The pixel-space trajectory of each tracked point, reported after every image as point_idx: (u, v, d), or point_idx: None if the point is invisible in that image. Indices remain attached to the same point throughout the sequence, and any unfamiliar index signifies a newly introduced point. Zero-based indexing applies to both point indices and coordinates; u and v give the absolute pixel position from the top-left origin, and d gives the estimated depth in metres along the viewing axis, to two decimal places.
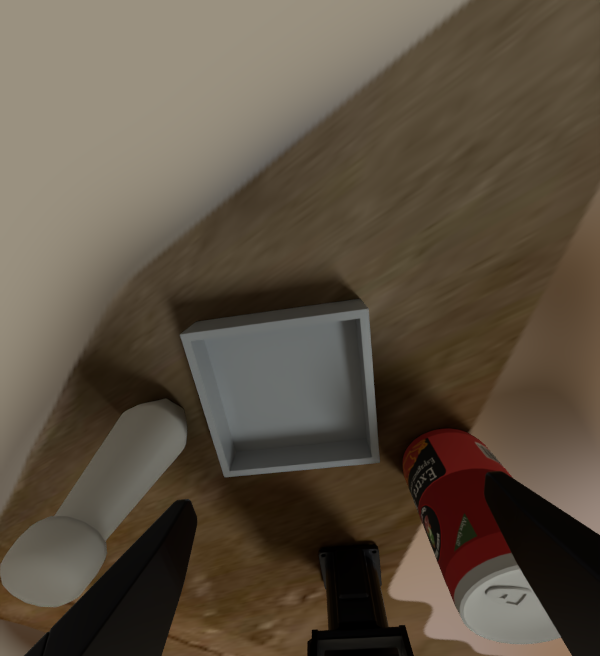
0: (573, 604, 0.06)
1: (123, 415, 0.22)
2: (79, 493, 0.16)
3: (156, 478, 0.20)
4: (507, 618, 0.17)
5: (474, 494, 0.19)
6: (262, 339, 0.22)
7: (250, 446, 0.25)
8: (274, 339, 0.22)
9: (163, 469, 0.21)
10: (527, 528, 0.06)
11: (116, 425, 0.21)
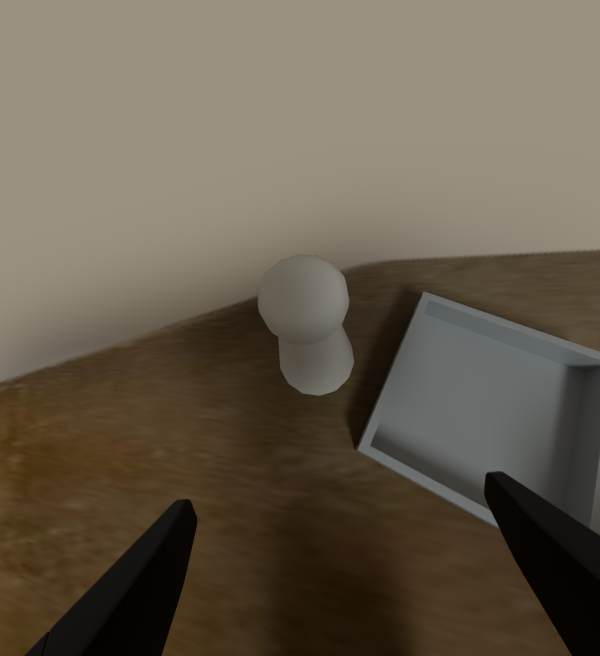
0: (573, 604, 0.06)
1: None
2: None
3: (332, 369, 0.18)
4: None
5: None
6: (473, 348, 0.22)
7: (388, 450, 0.20)
8: (485, 354, 0.22)
9: (334, 373, 0.18)
10: (527, 528, 0.06)
11: None
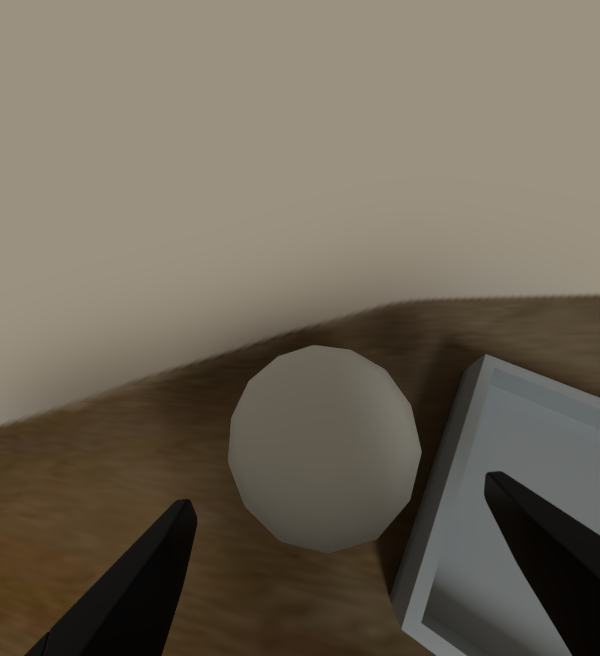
0: (573, 604, 0.06)
1: None
2: None
3: None
4: None
5: None
6: (559, 437, 0.15)
7: (443, 610, 0.13)
8: (579, 449, 0.15)
9: None
10: (527, 528, 0.06)
11: None
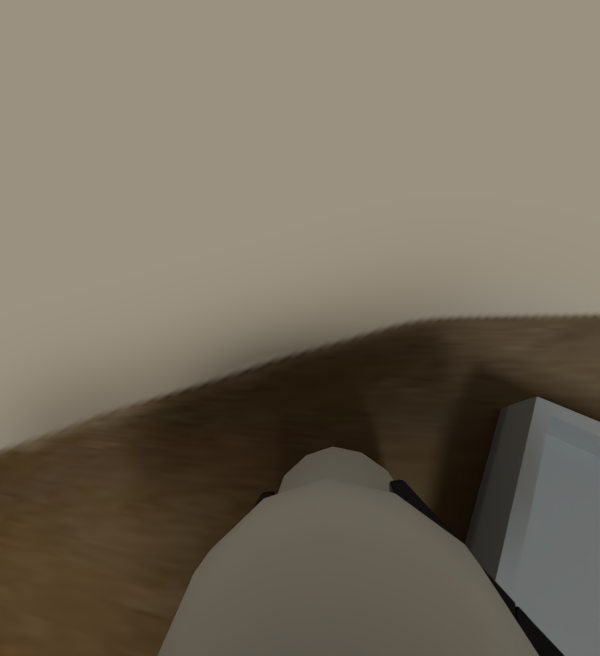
0: None
1: (340, 449, 0.12)
2: None
3: None
4: None
5: None
6: None
7: None
8: None
9: None
10: None
11: (338, 453, 0.11)
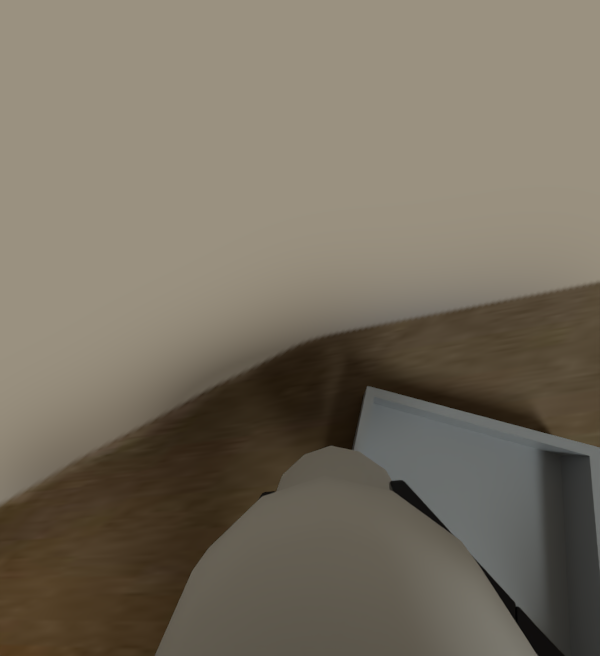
0: None
1: (338, 448, 0.12)
2: None
3: None
4: None
5: None
6: (435, 441, 0.19)
7: None
8: (449, 448, 0.18)
9: None
10: None
11: (336, 452, 0.11)
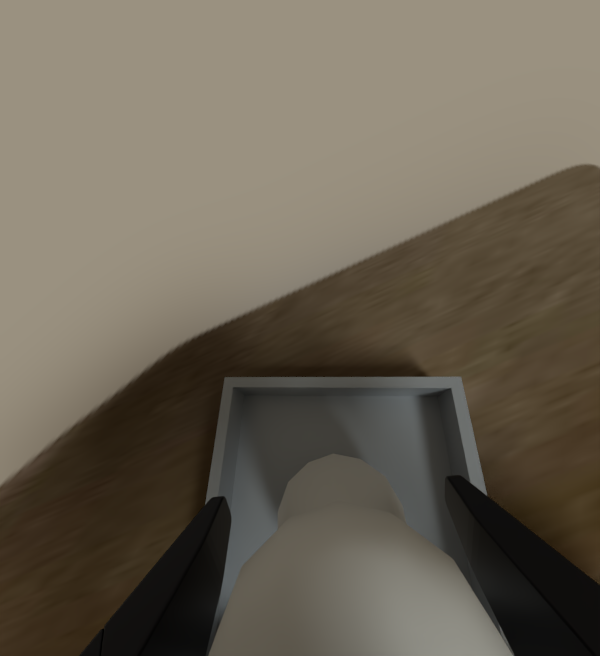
0: (514, 607, 0.06)
1: (340, 456, 0.13)
2: None
3: None
4: None
5: None
6: (314, 418, 0.17)
7: None
8: (330, 420, 0.17)
9: None
10: (477, 532, 0.06)
11: (339, 461, 0.12)
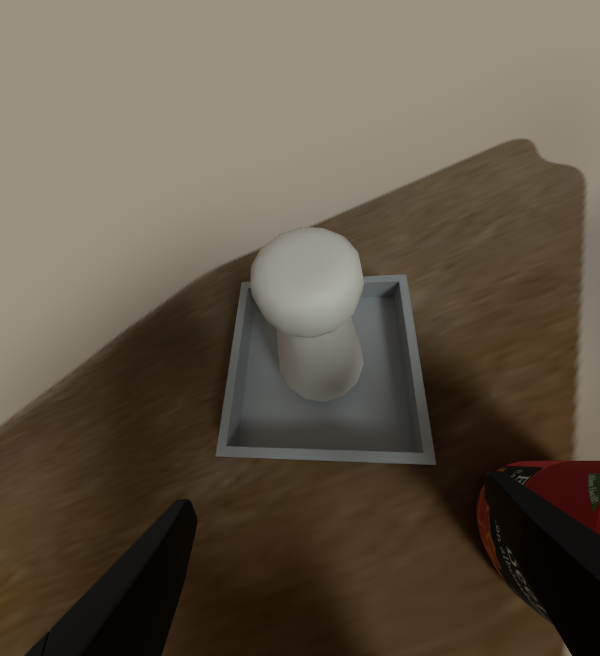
0: (573, 604, 0.06)
1: None
2: None
3: (339, 370, 0.15)
4: None
5: (596, 462, 0.12)
6: None
7: (258, 441, 0.20)
8: None
9: (342, 375, 0.16)
10: (527, 528, 0.06)
11: None
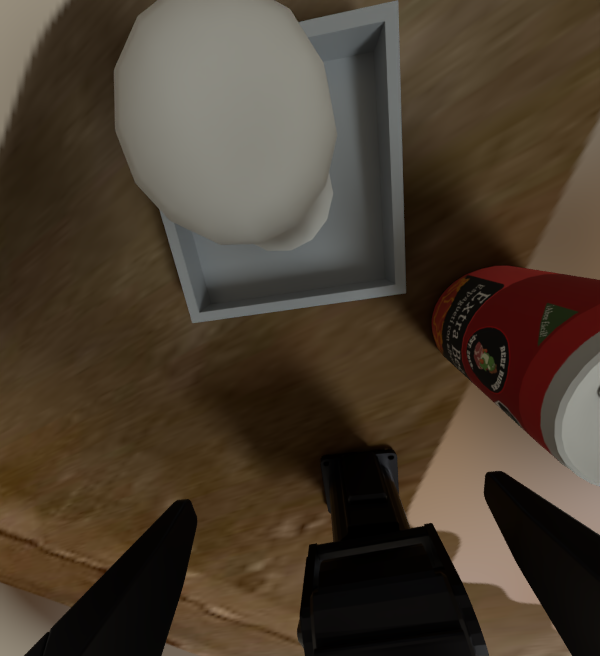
0: (573, 604, 0.06)
1: None
2: None
3: (306, 227, 0.12)
4: None
5: (558, 285, 0.12)
6: None
7: (230, 294, 0.19)
8: None
9: (309, 228, 0.13)
10: (527, 528, 0.06)
11: None
